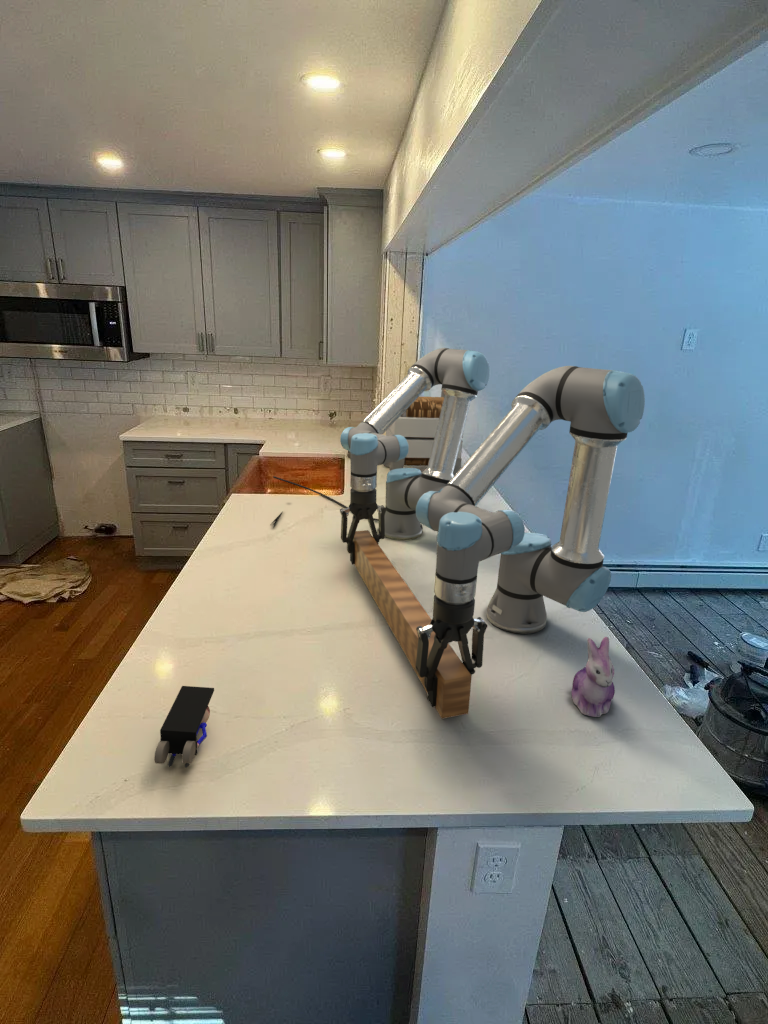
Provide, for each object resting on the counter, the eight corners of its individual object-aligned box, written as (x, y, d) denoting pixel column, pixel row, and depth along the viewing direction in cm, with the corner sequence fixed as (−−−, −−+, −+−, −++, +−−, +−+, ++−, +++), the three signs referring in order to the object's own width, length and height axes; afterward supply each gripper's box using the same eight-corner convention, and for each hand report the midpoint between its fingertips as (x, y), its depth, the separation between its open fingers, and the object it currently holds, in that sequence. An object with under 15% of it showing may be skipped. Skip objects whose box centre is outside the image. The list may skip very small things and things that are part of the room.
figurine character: (196, 782, 95) (218, 713, 108) (191, 750, 92) (215, 683, 105) (155, 781, 95) (183, 712, 108) (149, 749, 91) (178, 682, 105)
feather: (289, 506, 225) (292, 502, 225) (272, 529, 199) (275, 525, 198) (286, 503, 225) (288, 500, 225) (268, 527, 199) (271, 522, 198)
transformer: (382, 463, 289) (386, 382, 275) (445, 464, 293) (451, 384, 279) (390, 482, 257) (394, 392, 243) (460, 483, 261) (468, 394, 247)
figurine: (594, 725, 110) (608, 660, 105) (557, 694, 119) (568, 632, 114) (628, 712, 114) (643, 648, 109) (590, 683, 123) (602, 622, 118)
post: (350, 558, 174) (350, 531, 171) (367, 556, 175) (368, 530, 172) (441, 719, 107) (444, 680, 104) (468, 713, 109) (471, 675, 106)
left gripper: (334, 494, 156) (334, 570, 165) (398, 490, 162) (395, 563, 170) (328, 486, 163) (329, 559, 171) (390, 482, 168) (388, 553, 177)
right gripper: (413, 612, 98) (408, 720, 106) (509, 599, 103) (497, 703, 111) (399, 592, 104) (395, 695, 113) (491, 580, 110) (480, 680, 118)
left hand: (362, 561), depth 171 cm, fingers closed on post, 6 cm apart
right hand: (446, 699), depth 112 cm, fingers closed on post, 6 cm apart
